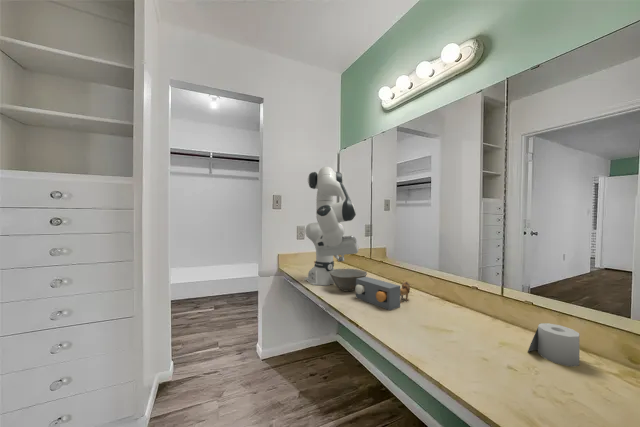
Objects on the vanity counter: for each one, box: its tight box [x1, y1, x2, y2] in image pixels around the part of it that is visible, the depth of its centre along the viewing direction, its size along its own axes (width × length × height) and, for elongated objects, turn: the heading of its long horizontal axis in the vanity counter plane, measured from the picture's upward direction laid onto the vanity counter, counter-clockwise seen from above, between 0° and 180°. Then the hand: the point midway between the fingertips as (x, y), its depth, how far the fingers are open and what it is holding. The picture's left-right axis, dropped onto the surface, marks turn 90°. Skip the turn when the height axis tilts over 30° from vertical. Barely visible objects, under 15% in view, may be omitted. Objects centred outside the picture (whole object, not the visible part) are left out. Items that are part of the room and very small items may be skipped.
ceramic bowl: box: [329, 268, 368, 292], centre depth 148 cm, size 22×23×10 cm
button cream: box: [354, 285, 365, 294], centre depth 130 cm, size 5×5×5 cm
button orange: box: [376, 291, 387, 302], centre depth 119 cm, size 5×5×5 cm
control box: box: [355, 276, 401, 311], centre depth 126 cm, size 22×8×10 cm, turn 36°
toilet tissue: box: [527, 322, 581, 367], centre depth 77 cm, size 9×13×9 cm
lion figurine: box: [400, 281, 411, 304], centre depth 128 cm, size 15×5×9 cm, turn 135°
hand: (341, 260), depth 124 cm, fingers closed
